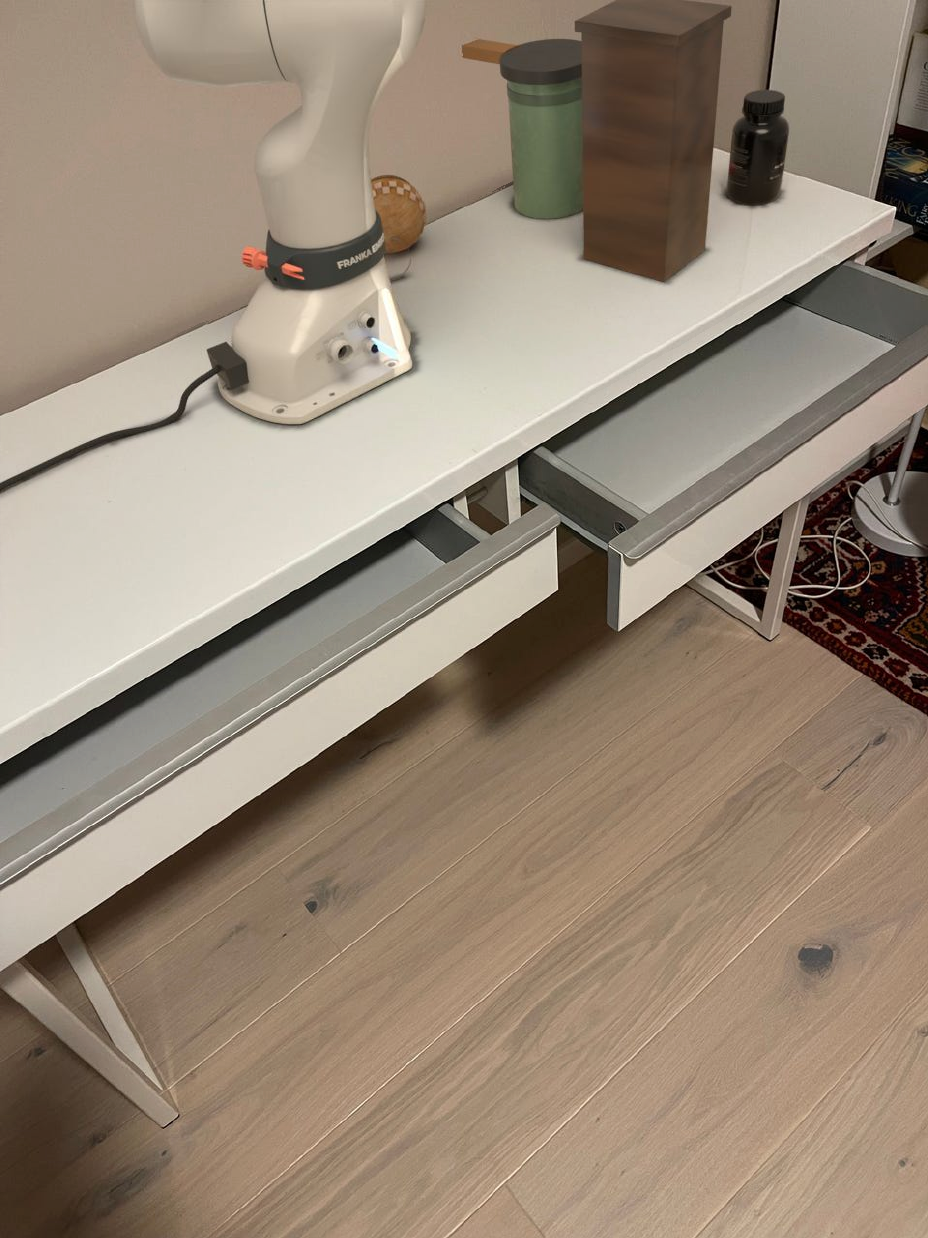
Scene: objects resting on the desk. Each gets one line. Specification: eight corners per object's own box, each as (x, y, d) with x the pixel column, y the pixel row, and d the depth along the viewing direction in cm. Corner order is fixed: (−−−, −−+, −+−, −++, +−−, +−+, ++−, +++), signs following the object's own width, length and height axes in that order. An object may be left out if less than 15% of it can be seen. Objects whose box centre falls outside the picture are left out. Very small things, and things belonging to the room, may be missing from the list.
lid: (557, 90, 116) (557, 76, 115) (426, 66, 126) (424, 53, 125) (614, 58, 122) (614, 45, 120) (484, 38, 132) (483, 25, 131)
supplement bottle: (785, 204, 127) (799, 103, 118) (730, 208, 127) (740, 108, 118) (774, 181, 131) (787, 83, 123) (722, 185, 132) (731, 88, 123)
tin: (559, 225, 128) (556, 88, 117) (498, 208, 133) (488, 75, 122) (605, 194, 133) (606, 60, 122) (544, 180, 138) (539, 49, 127)
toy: (445, 282, 122) (432, 204, 130) (417, 222, 115) (405, 143, 122) (375, 308, 124) (367, 230, 132) (343, 251, 117) (336, 172, 124)
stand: (665, 285, 115) (679, 35, 97) (577, 259, 122) (574, 20, 103) (711, 249, 120) (732, 5, 102) (623, 226, 126) (628, -8, 108)
